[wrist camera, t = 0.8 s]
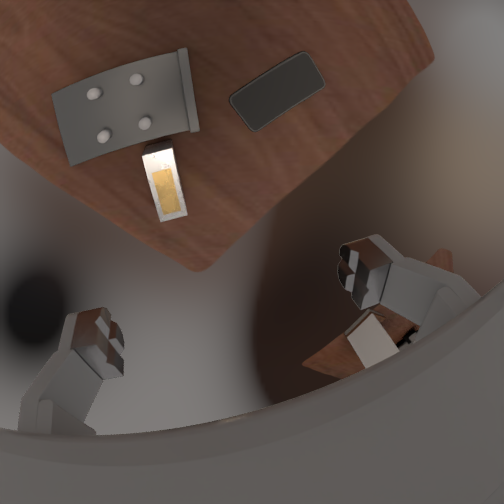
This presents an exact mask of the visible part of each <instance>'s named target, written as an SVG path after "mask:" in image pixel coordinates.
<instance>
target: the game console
mask: <svg viewBox="0 0 504 504" xmlns="http://www.w3.org/2000/svg"><path fill="white" fill-rule="evenodd" d="M417 332H418V330H417V331H415V330H412V331H410V332H409V333H408V334H407V335H406V336H404V337H403V338H404V341H405V342H404V343H403V344H401V345H400V346H399V347H398V349H399V351H401V350H403V349H405V348H406V347H408V346H410V345H412V344H413V343H415V342H417V341H416V339H415V337H416V334H417Z"/></svg>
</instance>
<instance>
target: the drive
mask: <svg viewBox="0 0 504 504" xmlns="http://www.w3.org/2000/svg"><path fill="white" fill-rule="evenodd" d="M142 158H143V162H144V166H145V170H146V174H147V177H148V181H149V185H150V188H151V192H152V195H153V198H154V202H155V205H156V209H157V212H158V215H159V218H160V222H163V221H167V220H170V219H174V218H178V217H182V216H186V215H188V214H187V208H186V201H185V196H184V192H183V188H182V183H181V179H180V175H179V170H178V166H177V161H176V157H175V152H174V147H173V142H172V139H170V140H166V141H163V142H159V143H155V144H151V145H148V146H146V147H145V149H144V152H143V155H142Z"/></svg>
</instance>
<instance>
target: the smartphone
mask: <svg viewBox="0 0 504 504" xmlns="http://www.w3.org/2000/svg"><path fill="white" fill-rule="evenodd" d="M324 87H325V81H324V79H323V77H322V75H321V73H320V72H319V70H318V68H317V67H316V65H315V63H314V62H313V60H312V58H311V57H310V55H309V54H308V53H307V52H304V51H302V52H299V53H297V54H295V55H293V56H292V57H289V58H288V59H286V60H284V61H282V62H281V63H279V64H277V65H276V66H275V67H273V68H271V69H270V70H268V71H266V72H265V73H263V74H262V75H260V76H259V77H257V78H255V79H254V80H252V81H251V82H249V83H248V84H246V85H245V86H243V87H242V88H240V89H239V90H238V91H236V92H235V93H233V94H232V95H231V96H230V97H229V102H230V104H231V106H232V107H233V108H234V110H235V111H236V112H237V114H238V115H239V116H240V117H241V119H242V120H243V121H244V123H245V124H246V125H247V127H248V128H249V129H250V130H251V131H253V132H257V131H259V130H261V129H262V128H263V127H265V126H266V125H268V124H269V123H271V122H272V121H273V120H275V119H276V118H278V117H279V116H281V115H282V114H284V113H285V112H287V111H288V110H290V109H291V108H293V107H294V106H296V105H298V104H299V103H301V102H302V101H305V100H306V99H308V98H309V97H311V96H312V95H313V94H315V93H317V92H318V91H320V90H321V89H323V88H324Z"/></svg>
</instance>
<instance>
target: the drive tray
mask: <svg viewBox="0 0 504 504" xmlns="http://www.w3.org/2000/svg"><path fill="white" fill-rule="evenodd" d="M51 95H52V99H53V104H54V109H55V113H56V117H57V121H58V125H59V129H60V133H61V137H62V140H63V144H64V147H65V150H66V154H67V157H68V160H69V163H70V166H74V165H76V164H79V163H81V162H84V161H87V160H89V159H92V158H95V157H97V156H100V155H103V154H106V153H109V152H112V151H115V150H118V149H121V148H124V147H127V146H131V145H134V144H137V143H141V142H144V141H148V140H151V139H155V138H159V137H162V136H166V135H170V134H174V133H179V132H183V131H187V130H190V131H191V133H192V132H197V131H200V129H199V123H198V117H197V111H196V104H195V98H194V92H193V85H192V79H191V72H190V65H189V58H188V51H187V48H182V49H178V50H177V52H172V53H168V54H163V55H159V56H155V57H151V58H147V59H143V60H139V61H136V62H132V63H129V64H126V65H123V66H119V67H116V68H113V69H110V70H108V71H105V72H102V73H99V74H97V75H94V76H91V77H89V78H86V79H84V80H81V81H79V82H77V83H74V84H72V85H70V86H67V87H65V88H63V89H61V90H59V91H57V92H55V93H53V94H51Z"/></svg>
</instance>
